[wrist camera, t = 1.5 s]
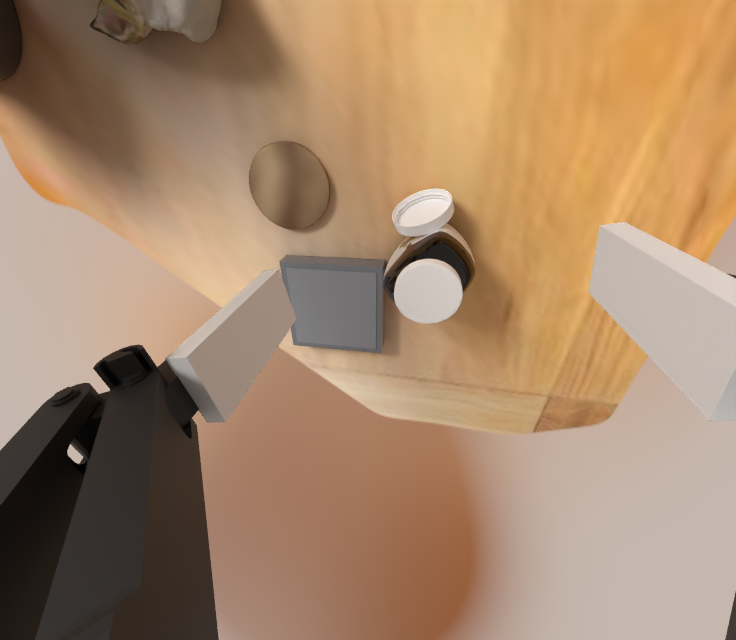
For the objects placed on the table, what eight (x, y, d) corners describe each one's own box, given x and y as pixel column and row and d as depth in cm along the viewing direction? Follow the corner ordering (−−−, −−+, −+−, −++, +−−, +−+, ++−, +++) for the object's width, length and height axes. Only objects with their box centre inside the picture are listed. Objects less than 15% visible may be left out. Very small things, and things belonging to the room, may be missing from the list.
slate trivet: (299, 336, 52) (293, 345, 50) (286, 255, 44) (279, 262, 42) (383, 343, 50) (381, 353, 48) (384, 260, 42) (382, 267, 40)
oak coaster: (261, 225, 43) (257, 228, 42) (245, 141, 37) (240, 141, 36) (332, 228, 41) (330, 230, 40) (326, 141, 36) (324, 141, 35)
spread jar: (417, 296, 45) (415, 345, 35) (361, 239, 41) (340, 275, 32) (491, 239, 39) (513, 279, 29) (432, 168, 36) (433, 186, 26)
